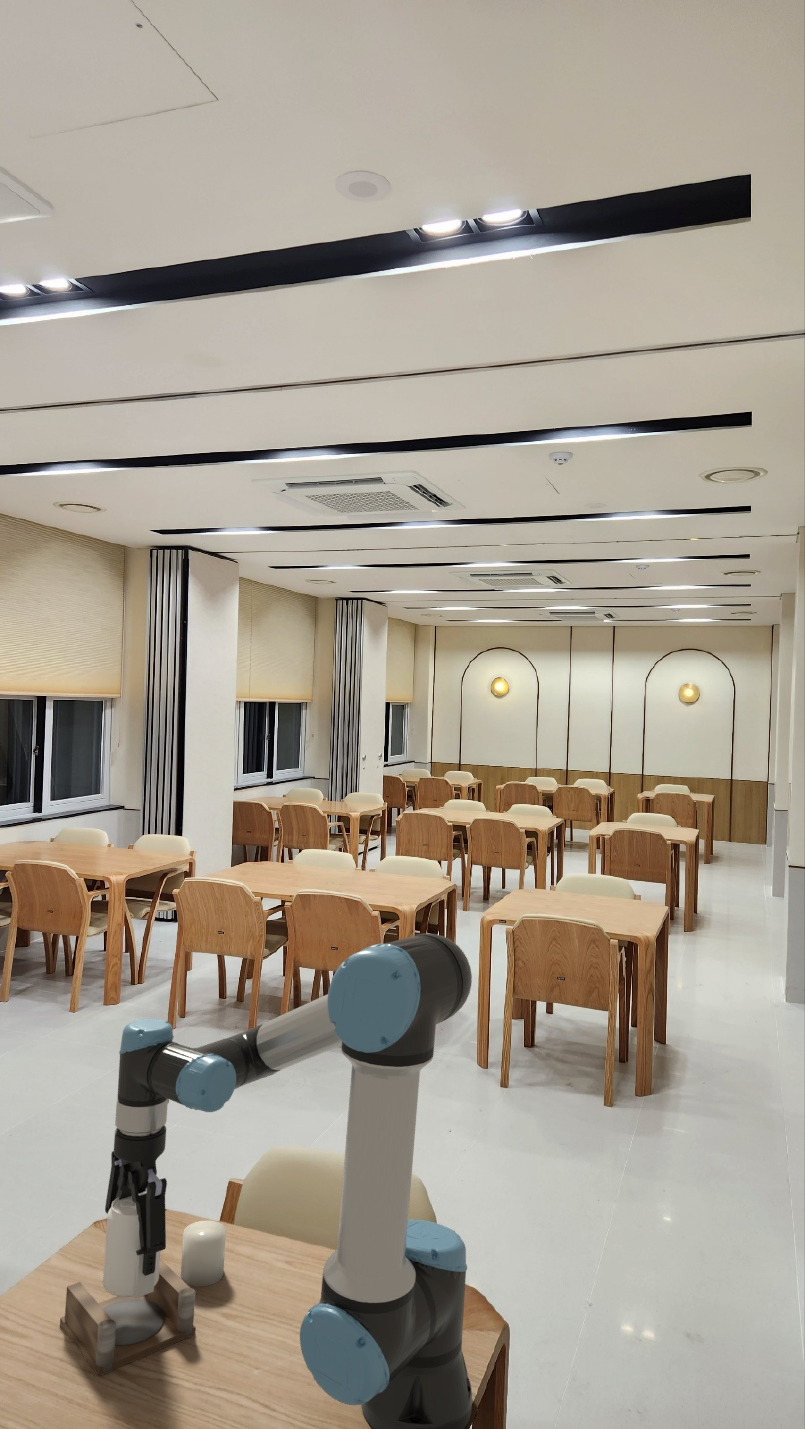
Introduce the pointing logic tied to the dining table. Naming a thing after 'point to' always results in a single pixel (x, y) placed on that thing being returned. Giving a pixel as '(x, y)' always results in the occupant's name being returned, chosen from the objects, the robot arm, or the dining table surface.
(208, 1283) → the white pillar candle
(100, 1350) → the wooden holder
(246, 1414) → the dining table surface
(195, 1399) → the dining table surface
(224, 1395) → the dining table surface
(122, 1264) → the beverage can
